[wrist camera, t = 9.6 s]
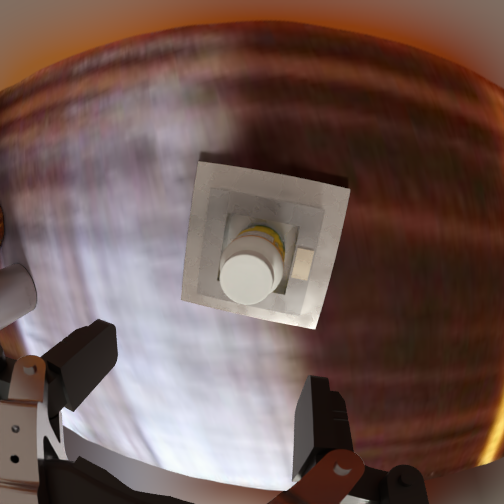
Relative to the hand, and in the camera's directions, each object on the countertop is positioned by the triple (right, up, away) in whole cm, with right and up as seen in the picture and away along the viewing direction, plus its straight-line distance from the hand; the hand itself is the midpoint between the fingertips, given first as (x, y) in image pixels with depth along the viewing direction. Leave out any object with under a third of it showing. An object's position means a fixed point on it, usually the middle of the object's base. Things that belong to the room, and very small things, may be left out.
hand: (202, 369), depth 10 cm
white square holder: (+3, +5, +21) cm, 22 cm away
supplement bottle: (+3, +5, +20) cm, 21 cm away
